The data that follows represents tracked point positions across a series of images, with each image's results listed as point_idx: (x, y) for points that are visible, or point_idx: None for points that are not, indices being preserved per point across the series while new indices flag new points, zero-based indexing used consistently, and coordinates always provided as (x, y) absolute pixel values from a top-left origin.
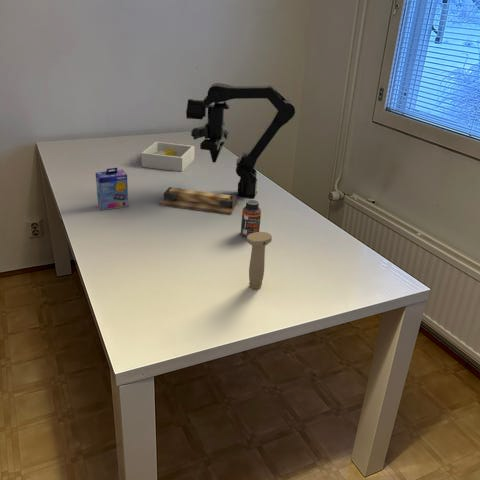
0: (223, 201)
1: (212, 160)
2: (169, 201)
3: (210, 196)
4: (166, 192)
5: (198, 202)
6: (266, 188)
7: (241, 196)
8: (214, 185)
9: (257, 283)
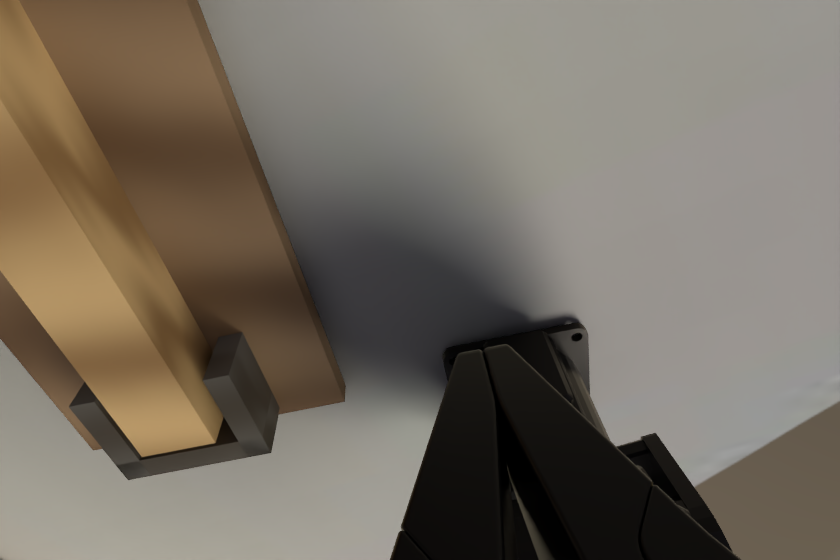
0: (90, 425)
1: (447, 388)
2: None
3: (45, 325)
4: None
5: None
6: (692, 430)
7: (446, 374)
8: (631, 47)
9: None
